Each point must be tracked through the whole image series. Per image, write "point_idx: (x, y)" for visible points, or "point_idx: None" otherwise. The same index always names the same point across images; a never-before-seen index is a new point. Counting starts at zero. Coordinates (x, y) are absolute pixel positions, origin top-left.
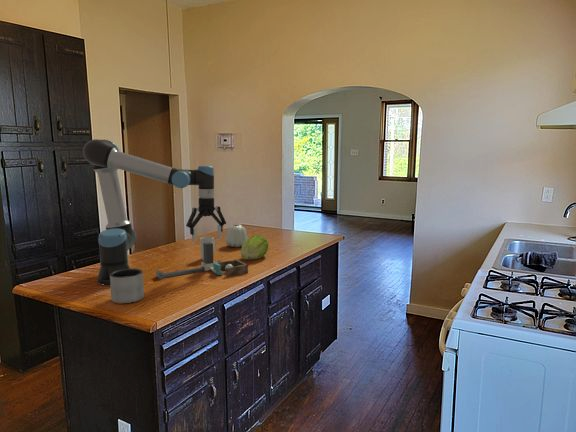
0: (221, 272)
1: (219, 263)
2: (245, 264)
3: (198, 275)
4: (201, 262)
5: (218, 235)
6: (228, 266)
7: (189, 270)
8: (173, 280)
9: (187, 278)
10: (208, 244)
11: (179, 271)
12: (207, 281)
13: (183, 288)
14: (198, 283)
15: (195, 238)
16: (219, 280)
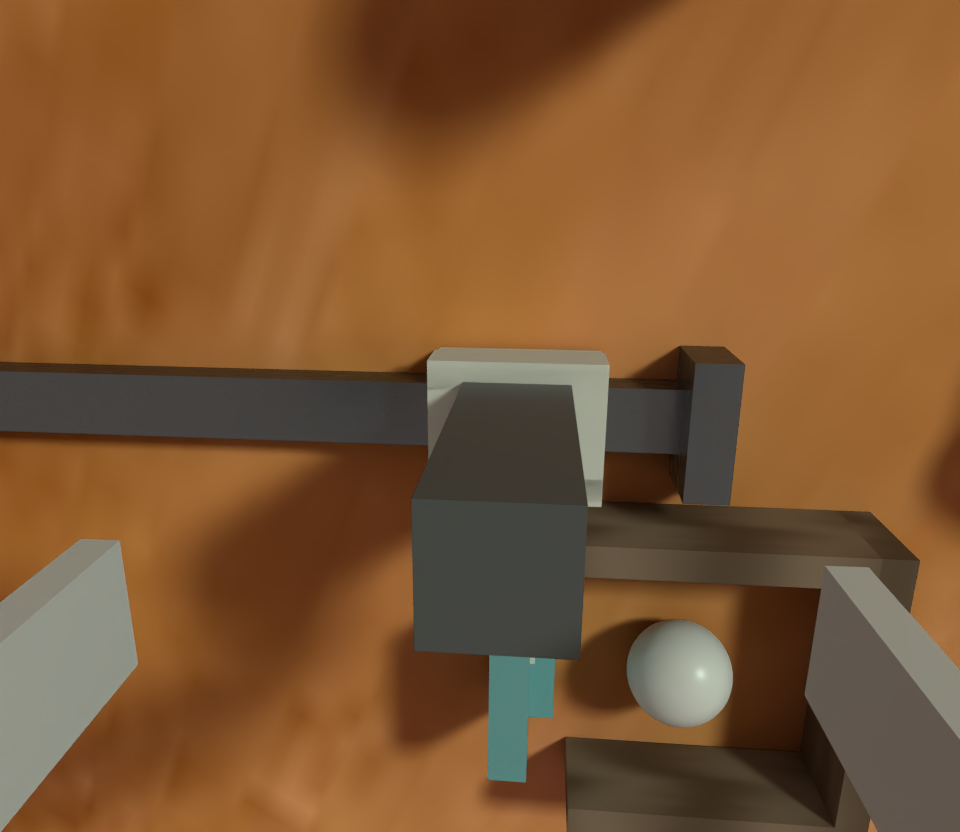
0: (535, 713)
1: (614, 575)
2: (850, 827)
3: (319, 551)
4: (427, 370)
5: (849, 671)
6: (655, 718)
7: (237, 438)
8: (37, 555)
9: (182, 577)
10: (472, 644)
11: (117, 405)
12: (329, 769)
13: (79, 806)
14: (235, 770)
15: (96, 714)
16: (441, 808)
